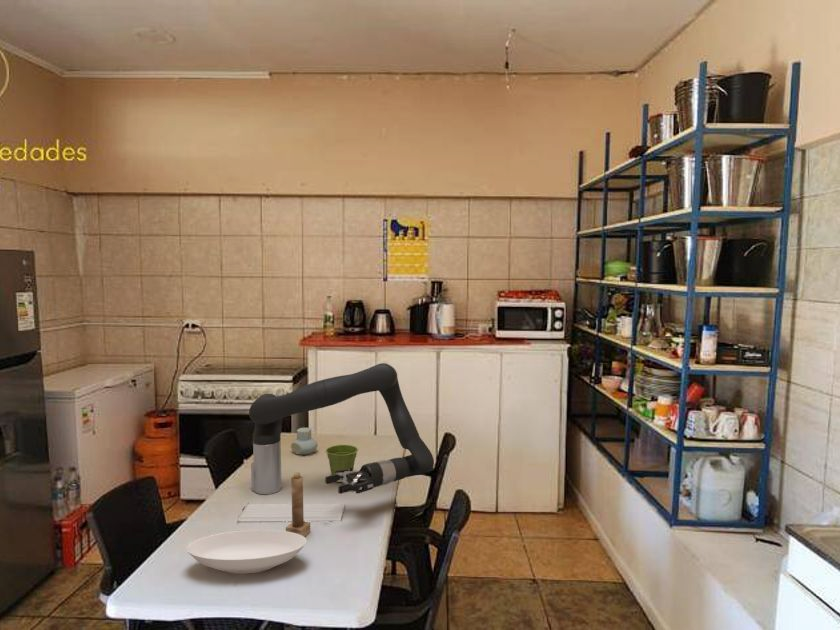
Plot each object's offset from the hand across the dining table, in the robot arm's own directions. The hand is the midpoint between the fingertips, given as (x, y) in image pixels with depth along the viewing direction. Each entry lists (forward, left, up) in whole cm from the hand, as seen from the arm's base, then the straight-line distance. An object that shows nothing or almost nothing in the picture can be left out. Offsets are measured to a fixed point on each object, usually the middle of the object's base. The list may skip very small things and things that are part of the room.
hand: (332, 485), depth 160 cm
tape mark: (-10, -10, -12) cm, 19 cm away
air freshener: (-43, +51, -12) cm, 68 cm away
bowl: (-9, -28, -12) cm, 32 cm away
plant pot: (-14, +31, -12) cm, 36 cm away
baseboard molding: (-14, 0, -13) cm, 19 cm away
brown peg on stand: (-6, -10, -12) cm, 16 cm away
